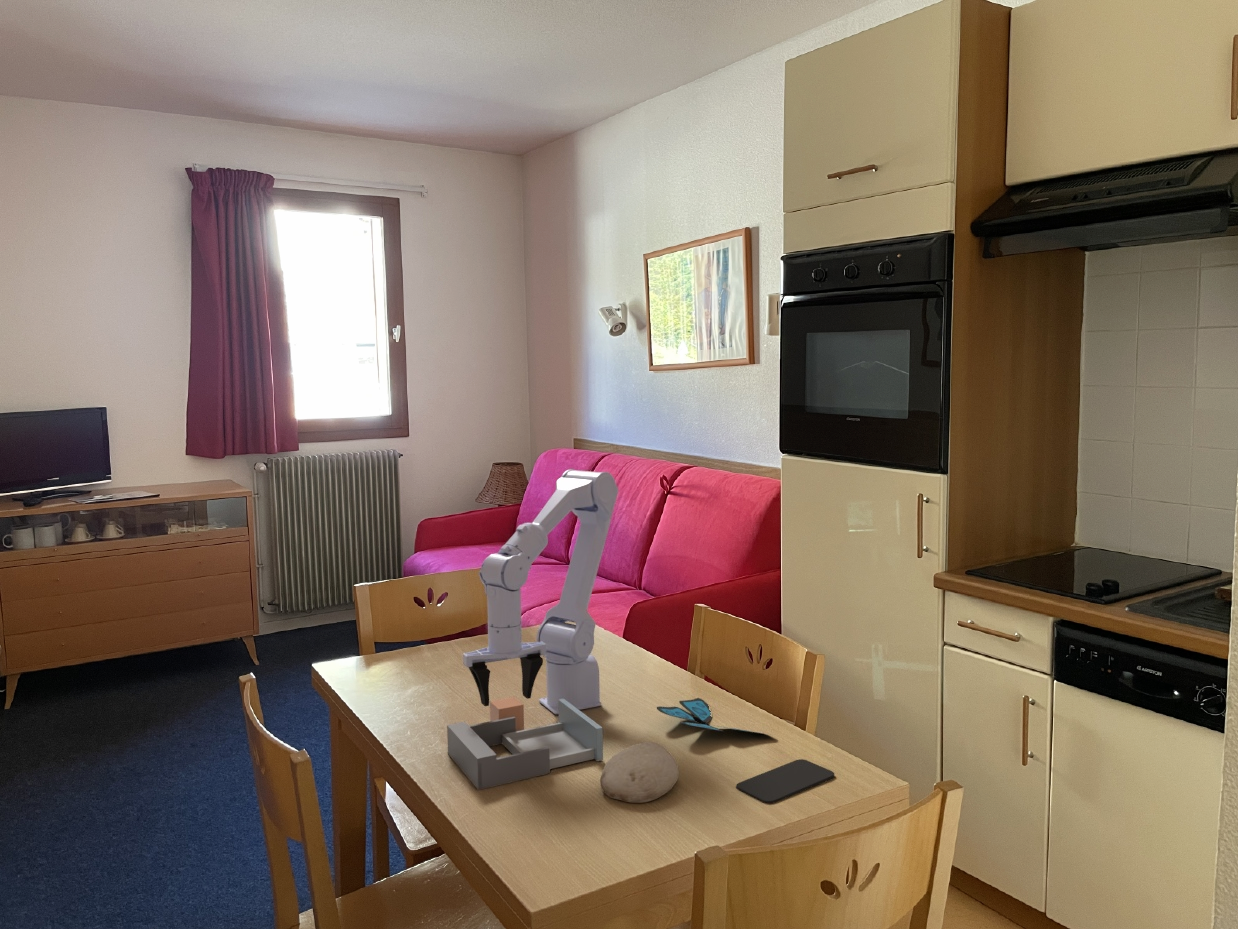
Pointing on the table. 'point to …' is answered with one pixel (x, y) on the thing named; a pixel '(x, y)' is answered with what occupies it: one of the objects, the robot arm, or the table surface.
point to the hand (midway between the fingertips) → (506, 700)
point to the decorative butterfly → (696, 708)
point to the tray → (561, 738)
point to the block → (508, 711)
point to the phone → (785, 781)
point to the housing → (492, 754)
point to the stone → (639, 773)
